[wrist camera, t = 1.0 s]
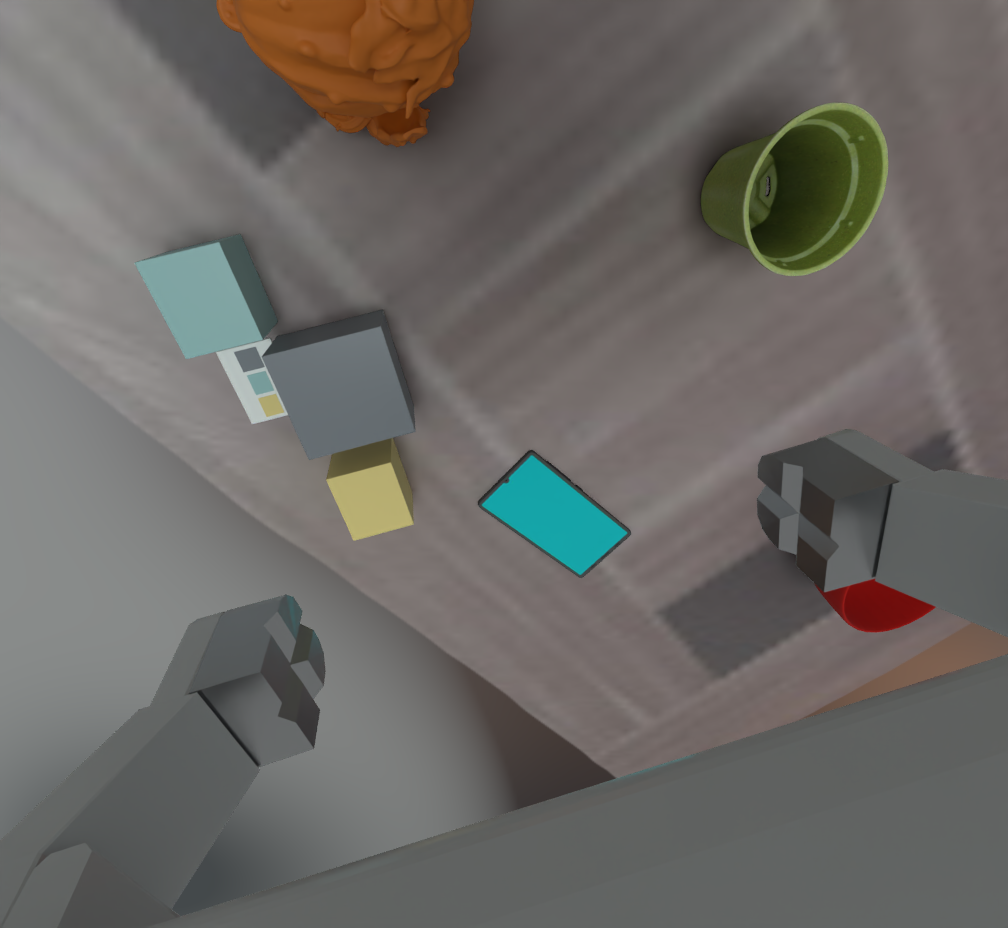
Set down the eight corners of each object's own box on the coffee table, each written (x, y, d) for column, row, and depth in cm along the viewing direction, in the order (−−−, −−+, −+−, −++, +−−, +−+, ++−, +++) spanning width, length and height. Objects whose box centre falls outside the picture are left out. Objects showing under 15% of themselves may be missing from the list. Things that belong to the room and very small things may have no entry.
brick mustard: (333, 449, 44) (326, 479, 40) (391, 434, 44) (390, 462, 40) (357, 507, 47) (353, 540, 43) (412, 492, 47) (413, 524, 43)
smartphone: (581, 579, 55) (476, 505, 48) (578, 573, 56) (475, 500, 49) (633, 532, 53) (532, 450, 47) (630, 528, 54) (530, 445, 47)
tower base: (276, 336, 39) (261, 356, 34) (382, 309, 39) (380, 326, 35) (318, 431, 43) (308, 460, 38) (413, 406, 43) (415, 431, 39)
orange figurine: (236, -56, 29) (45, -328, 13) (430, -99, 29) (465, -410, 14) (315, 172, 34) (247, 170, 19) (476, 133, 35) (539, 99, 19)
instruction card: (216, 351, 38) (215, 352, 38) (270, 338, 39) (269, 338, 38) (252, 423, 41) (252, 424, 41) (302, 410, 42) (301, 411, 42)
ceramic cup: (856, 422, 52) (947, 471, 43) (899, 522, 60) (983, 580, 51) (744, 499, 54) (809, 561, 46) (799, 586, 62) (864, 652, 54)
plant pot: (674, 135, 37) (745, 125, 29) (800, 102, 37) (901, 84, 30) (681, 271, 42) (742, 292, 34) (792, 240, 42) (877, 255, 35)
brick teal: (167, 251, 35) (134, 262, 31) (240, 233, 35) (218, 242, 31) (210, 338, 38) (186, 359, 34) (278, 321, 38) (262, 339, 34)
